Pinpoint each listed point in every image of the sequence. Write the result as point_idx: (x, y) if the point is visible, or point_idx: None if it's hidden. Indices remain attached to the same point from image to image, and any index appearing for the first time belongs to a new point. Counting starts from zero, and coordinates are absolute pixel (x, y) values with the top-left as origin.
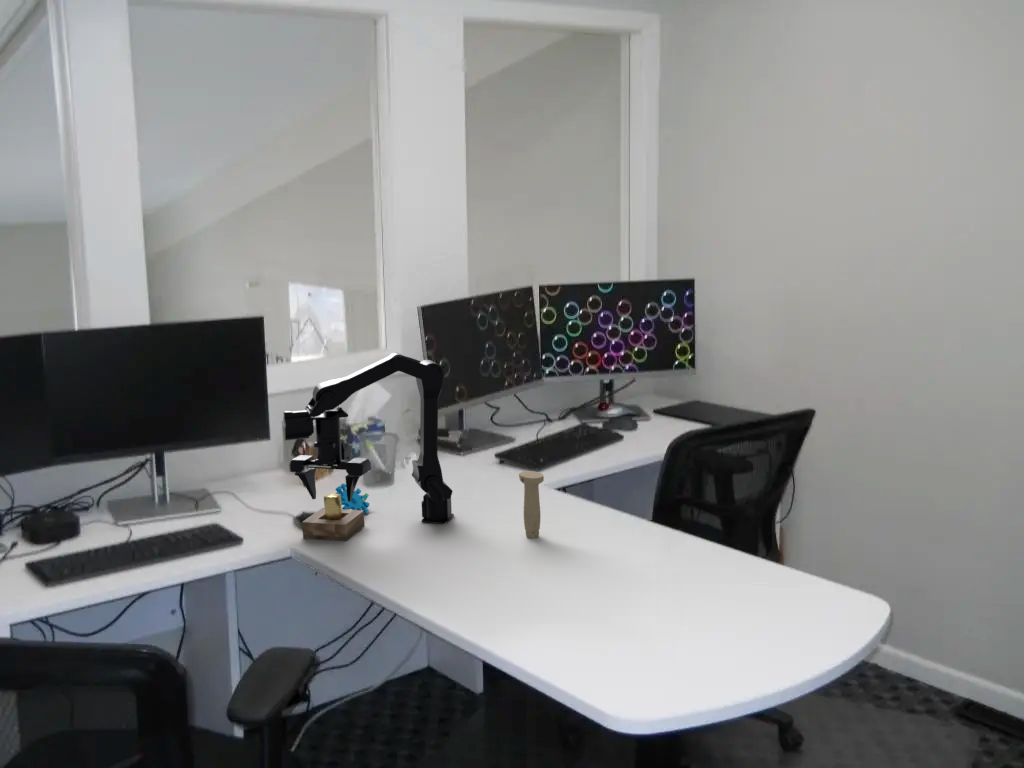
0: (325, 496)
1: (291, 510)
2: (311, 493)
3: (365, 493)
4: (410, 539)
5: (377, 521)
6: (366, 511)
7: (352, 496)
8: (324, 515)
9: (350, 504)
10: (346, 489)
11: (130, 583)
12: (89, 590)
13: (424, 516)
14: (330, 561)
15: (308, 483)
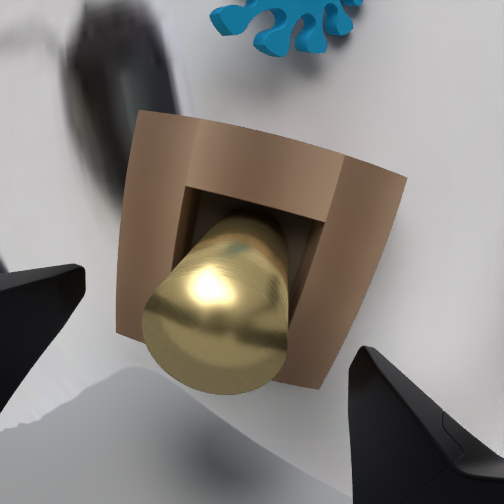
0: (155, 338)
1: (52, 5)
2: (53, 332)
3: None
4: (499, 327)
5: (422, 109)
6: (358, 2)
7: (389, 363)
8: (180, 228)
9: (290, 4)
10: (352, 477)
11: (19, 422)
12: (4, 420)
13: None
14: (282, 453)
15: (6, 402)
